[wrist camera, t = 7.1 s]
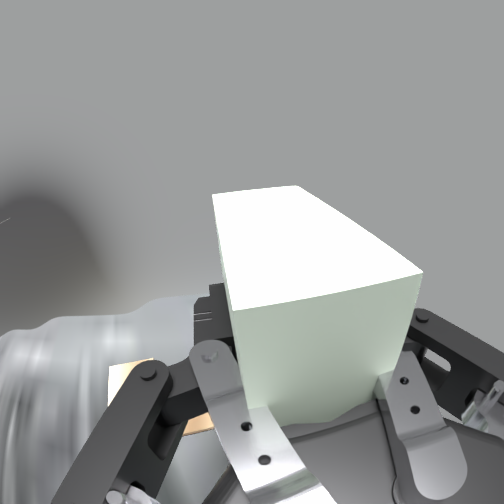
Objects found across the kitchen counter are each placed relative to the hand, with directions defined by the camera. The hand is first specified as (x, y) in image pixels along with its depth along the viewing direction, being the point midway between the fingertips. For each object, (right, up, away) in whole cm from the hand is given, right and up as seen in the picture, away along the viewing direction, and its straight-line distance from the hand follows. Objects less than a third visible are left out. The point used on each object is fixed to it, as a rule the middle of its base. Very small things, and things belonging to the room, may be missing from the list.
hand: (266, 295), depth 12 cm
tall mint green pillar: (+1, -7, 0) cm, 7 cm away
